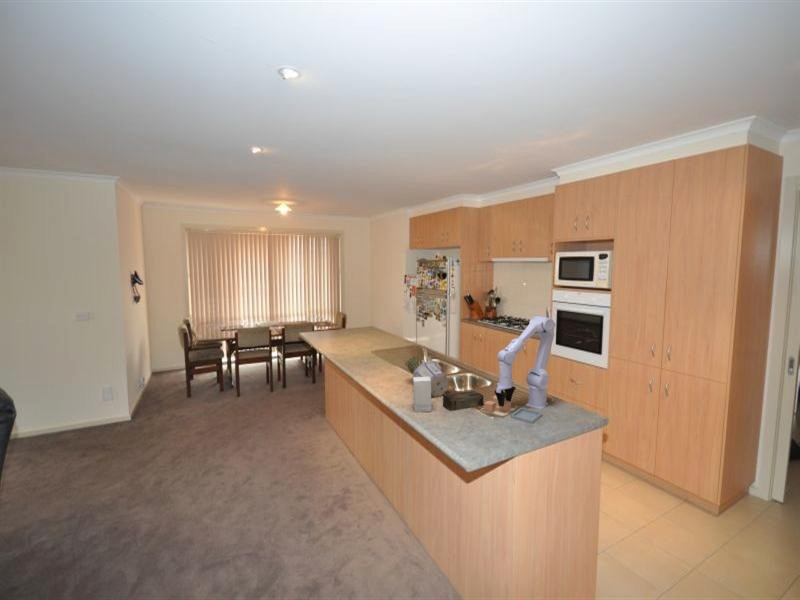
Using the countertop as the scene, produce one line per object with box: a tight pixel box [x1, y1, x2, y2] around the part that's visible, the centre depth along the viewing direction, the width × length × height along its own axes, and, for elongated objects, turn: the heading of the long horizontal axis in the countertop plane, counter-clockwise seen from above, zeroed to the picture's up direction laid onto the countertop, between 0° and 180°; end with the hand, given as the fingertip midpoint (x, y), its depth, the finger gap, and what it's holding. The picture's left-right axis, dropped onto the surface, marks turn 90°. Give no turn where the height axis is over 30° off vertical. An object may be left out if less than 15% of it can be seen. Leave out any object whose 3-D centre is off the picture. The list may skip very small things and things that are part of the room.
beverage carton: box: [442, 390, 484, 412], centre depth 190 cm, size 8×19×7 cm, turn 111°
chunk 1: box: [483, 400, 496, 413], centre depth 183 cm, size 4×4×4 cm
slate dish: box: [509, 407, 543, 425], centre depth 177 cm, size 12×10×2 cm
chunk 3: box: [499, 399, 512, 412], centre depth 184 cm, size 4×4×4 cm
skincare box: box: [412, 376, 432, 413], centre depth 186 cm, size 8×7×16 cm
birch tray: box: [479, 404, 519, 419], centre depth 185 cm, size 16×12×1 cm
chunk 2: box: [492, 394, 499, 407], centre depth 190 cm, size 4×4×4 cm
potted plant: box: [406, 356, 450, 398], centre depth 214 cm, size 18×18×30 cm
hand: (504, 403), depth 184 cm, fingers open, 7 cm apart
